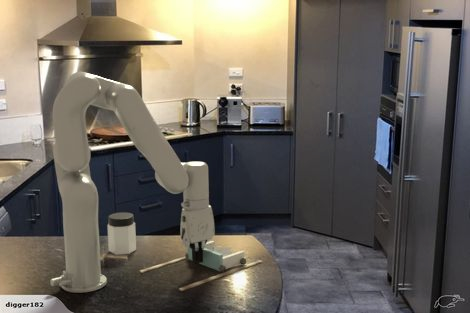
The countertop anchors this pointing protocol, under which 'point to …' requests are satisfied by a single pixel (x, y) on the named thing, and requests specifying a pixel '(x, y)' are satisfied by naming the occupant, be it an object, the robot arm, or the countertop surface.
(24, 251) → the countertop surface
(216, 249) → the grey rock
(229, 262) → the green frame
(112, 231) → the jar
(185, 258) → the track
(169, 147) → the robot arm
